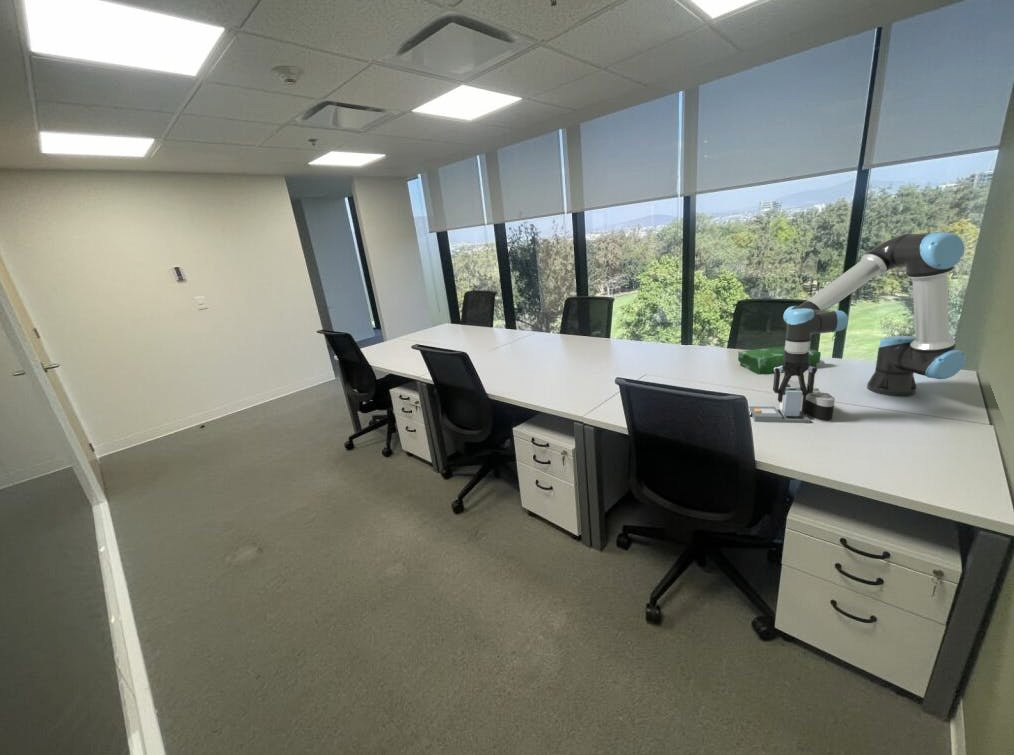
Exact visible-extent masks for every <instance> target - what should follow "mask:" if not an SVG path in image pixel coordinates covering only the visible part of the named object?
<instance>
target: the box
mask: <svg viewBox="0 0 1014 755" xmlns="http://www.w3.org/2000/svg"><path fill="white" fill-rule="evenodd" d="M785 351H786V350H785V345H784V346H783V345H782V346H774V347H773V346H772V347H765V348H757V349H756V348H755V349H746V350H740V351H738V356H737V357H738V358H737V360H738V362H739V366H740V367H742V368H744V369H746V370H748V371H750V372H753V373H754V374H756V375H767V374H775V372H774V369H773V368H774V367H780V366H782V364H783V362H784V352H785ZM808 352H809V360H808V364H809V366H814V367H816V368H817V364H819V363H820V361H821V351H818V350H814V349H811V348H810V351H808ZM780 373H785V371H784V370H783V369H782V370H781V372H780Z"/></svg>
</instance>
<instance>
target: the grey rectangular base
mask: <svg viewBox="0 0 1014 755" xmlns="http://www.w3.org/2000/svg"><path fill="white" fill-rule="evenodd" d="M749 408H750V412H751V416H750V417H752V419H753V421H754V422H755V423H788V424H789V423H791V424H792V423H793V424H810V423H811V419H810V417H809V416H807V415H805V414H804V413H803V412H802V411H800V415H799V417H801V418H783V415H782V413H781V411H780V408H779V409H777V408H776V407H775V406H760V405H759V406H753V405H752V406H748V409H749ZM750 412H749V413H750Z"/></svg>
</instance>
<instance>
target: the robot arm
mask: <svg viewBox="0 0 1014 755" xmlns="http://www.w3.org/2000/svg"><path fill="white" fill-rule="evenodd" d="M964 255H965V244H964V241H963V240H962V238H961V237H960V236H958V235H957V234H954V233H952V232H941V231H937V232H925V233H906V234H904V233H903V234H901V235H897V236H894V237H892V238H890V239H888V240H885V241H884V242H882V243H880V244H879V245H877V246H875V247H874V248H872V249H871V250H869V251H868V252H866V253H865V254H864V255H862V256H861V258H860V261H859V262H857V263H856V264H855V265H853V266H852V267H850V268H849V269H848V270H846V271H845V272H844V273H842V274H841V275H840V276H838V277H837V278H836V279H834V280H833V281H831V282H830V283H828V284H827V285H826V286H825V287H823V288H822V289H821V290H819V291H818V292H816V293H815V294H813V295H812V296H811V297H810V298H808V299H806V300H805V301H804V302H802V303H801V304H800V305H792V306H791V305H790V306H789V307H787V309H785V311H784V313H783V316H782V318H783V321H784V322H785V323H786V334H785V341H784V342H785V343H784V346H785V350H786V351H785V352H784V362H783V364H782V366H780V367H774V368H773V369H774V372H775V373H774V375H773V385H772V390H773V392H774V393H775V394H777V401H778V402H779V409H781V410H782V411H784V406H785V396H786V395H785V394H784V391H785V389H786V387H787V384H788V382H789V380H790V379H791V378H792V377H793V376H794V377H797V378H798V379H797V380H798V381H799V384H800V389H801V391H802V399H801V407H800V411H802V403H803V402H805V401H806V395H808V393H813V387H815V377H816V373H817V371H818V368H817V366H816V367H814V366H809V364H808V360H809V352H808V351H810V349H811V341H812V336H813V335H817V334H825V333H826V334H829V333H836V332H841V331H843V330H845V329H846V328H847V327H848V323H849V316H848V315H847V313H846V312H844V310H831V311H830V309H831V308H833V307H835V305H837V304H838V303H840V302H841V301H842V300H844V299H845V298H847V297H849V295H851V294H852V293H853V292H855V291H856V290H857V289H859V288H860V287H862V286H863V285H864V284H867V283H868V282H869V281H870V280H872V279H874V278H875V277H877V276H879V275H880V276H881V275H884V274H885V273H886V272H888V271H889V270H892V269H896V268H905V276H906V277H907V278H909V279H911V280H912V293H913V294H912V298H913V315H914V332H915V333H914V334H915V335H913V336H912V335H900V336H899V335H897V336H894V335H893V336H886V337H883V338H881V340H880V343H879V345H878V351H877V354H876V355H877V357H876V363H875V370H874V372H873V374H872V375H871V377H870V379H869V380H868V381H867V383H866V389H867V390H868V391H870V392H872V393H875V394H878V395H882V394H883V395H882V396H887V395H888V396H889V397H911V396H914V395H916V394H917V384H916V380H915V377H914V374H918V375H920V376H924V377H927V378H930V379H935V380H947V379H949V378H952V377H953V376H955V375H957V374H958V373H959V372H960V371H961V370H962V368H963V367H964V366H965V364H966V361H967V357H966V354H965V353H964V352H963V351H961V350H960V349H959V350H958V349H956V348H957V347H956V341H955V339H953V338H952V337H950V330H949V329H950V328H949V327H950V324H949V323H950V322H949V289H948V288H949V285H948V282H949V281H948V275H949V274H950V273H952V272H953V271H954V268H955V266H957V264H959V263H960V262H961V260H962V259H961V258H962V257H964ZM828 310H829V311H828ZM782 369H783V370H784V371H785V372H784V376H783V379H782V381H781V380H780V379H781V373H782V372H781V370H782ZM806 371H808V376H807V383H806V382H805V381H806V380H805V375H804V373H805V372H806ZM780 382H781V383H780ZM805 383H806V384H807V389H806V385H805Z"/></svg>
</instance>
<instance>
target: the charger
mask: <svg viewBox="0 0 1014 755" xmlns="http://www.w3.org/2000/svg"><path fill="white" fill-rule="evenodd" d="M784 394H785V395H786V396H785V406H784V411H782V410H781V409H780V408H779V409H780V411H781V413H780V414H781V415H782V416H783V417H800V407H801V399H802V391H801V390H800V389H799V388H798V387H786V389H785V391H784Z"/></svg>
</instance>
